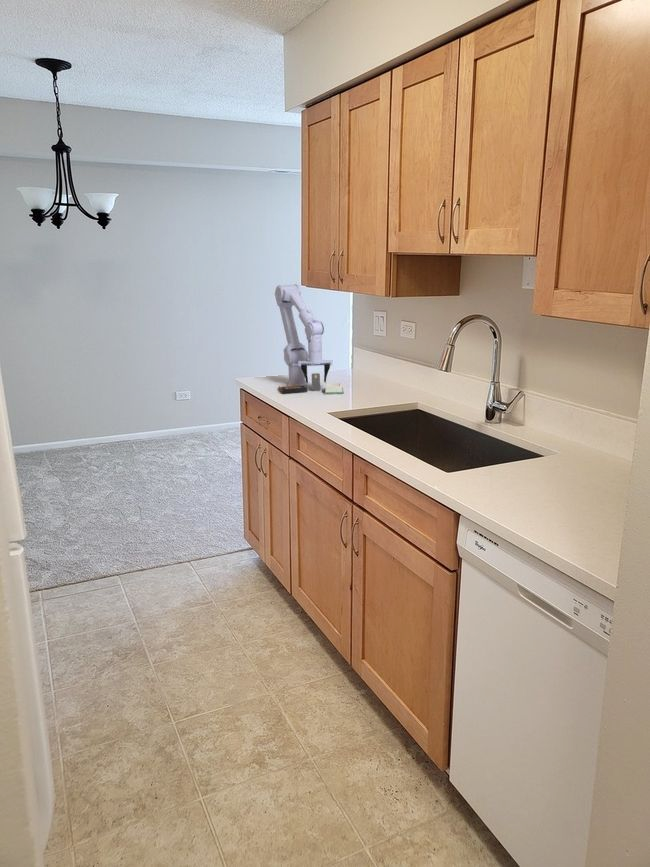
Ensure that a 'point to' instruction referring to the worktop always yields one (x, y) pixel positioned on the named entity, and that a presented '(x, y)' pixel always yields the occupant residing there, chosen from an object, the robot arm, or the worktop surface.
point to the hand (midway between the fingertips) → (316, 382)
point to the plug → (316, 382)
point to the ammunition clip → (292, 389)
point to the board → (333, 388)
